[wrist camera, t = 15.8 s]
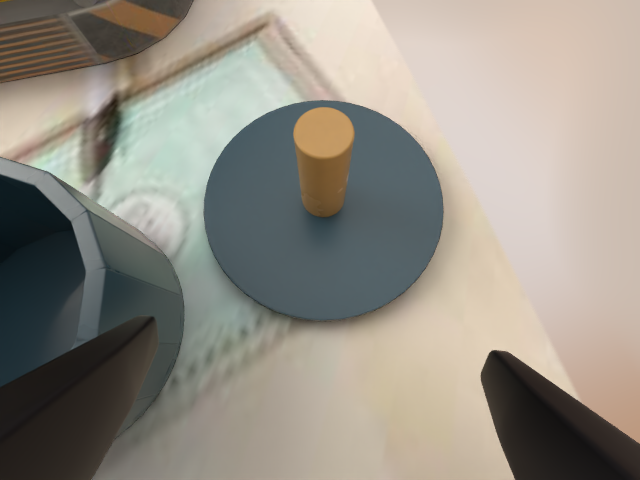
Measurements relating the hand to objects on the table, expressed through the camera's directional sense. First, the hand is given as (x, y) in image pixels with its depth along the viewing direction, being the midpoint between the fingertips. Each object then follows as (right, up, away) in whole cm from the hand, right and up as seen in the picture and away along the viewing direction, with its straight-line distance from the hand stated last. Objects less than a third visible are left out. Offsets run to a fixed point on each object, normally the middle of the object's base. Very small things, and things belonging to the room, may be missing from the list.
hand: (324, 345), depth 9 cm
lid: (0, +5, +10) cm, 11 cm away
